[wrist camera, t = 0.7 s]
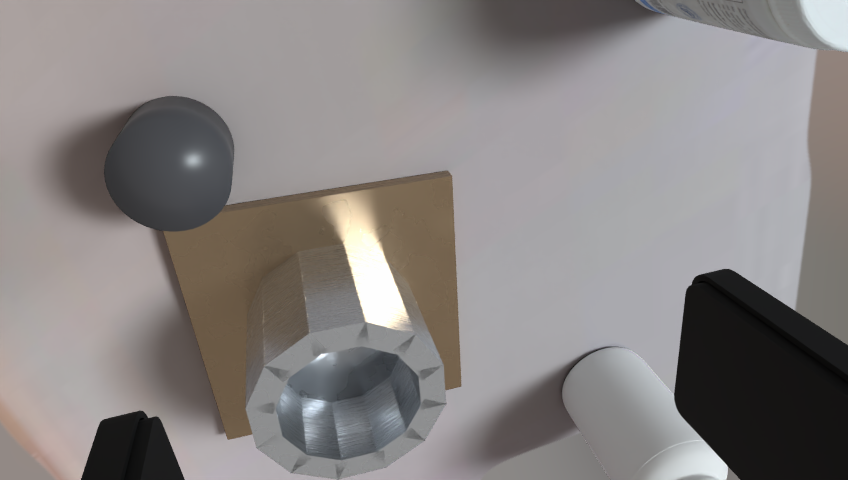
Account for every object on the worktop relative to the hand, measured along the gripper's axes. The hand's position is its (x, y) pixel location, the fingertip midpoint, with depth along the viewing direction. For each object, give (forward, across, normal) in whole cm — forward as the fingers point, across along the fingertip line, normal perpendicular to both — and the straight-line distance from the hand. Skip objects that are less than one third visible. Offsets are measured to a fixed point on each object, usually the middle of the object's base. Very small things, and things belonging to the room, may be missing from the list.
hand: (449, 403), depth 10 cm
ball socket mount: (+29, +1, +15) cm, 33 cm away
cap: (+28, +8, +2) cm, 29 cm away
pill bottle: (+29, -20, +29) cm, 46 cm away
